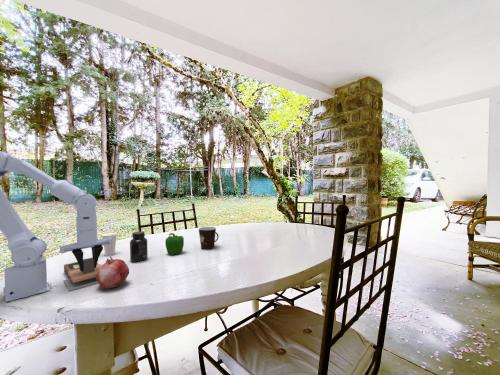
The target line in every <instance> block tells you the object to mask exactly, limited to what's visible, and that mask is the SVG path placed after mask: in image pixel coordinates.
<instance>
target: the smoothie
mask: <svg viewBox="0 0 500 375" xmlns="http://www.w3.org/2000/svg"><path fill="white" fill-rule="evenodd" d="M117 236H118V233H117V232H112V225H111V224H109V232H107V233H103V234H101V239H107V238H111V239H112V244H107V245H103V251H104V256H106V257H108V256H109V257H110V256H111V257H112V256H114V255H115V252H116V247H117V246H116V244H117Z"/></svg>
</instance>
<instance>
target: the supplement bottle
mask: <svg viewBox="0 0 500 375" xmlns="http://www.w3.org/2000/svg"><path fill="white" fill-rule="evenodd" d="M145 233H146V232H145V231H135V232H132V234H131V236H132V237H131V240H130V241H129V258H130V259H129V260H130V262H131V263H135V264H136V263H143V262H145V261H147V260H148V256H149V255H148V252H149V251H148V239H147V238H146V234H145Z"/></svg>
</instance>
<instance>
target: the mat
mask: <svg viewBox="0 0 500 375" xmlns="http://www.w3.org/2000/svg"><path fill="white" fill-rule="evenodd" d="M63 284H64V285H65V287H66V288H67V290H68V291H69V292H72V291H76V290H79V289H83V288H87V287H91V286H94V285H97V284H98V285H99V283H98V281H97V279H96V277H94V278H90V279H86V280H83V281H79V282H75V283H73V281H72V280H71V278H70V279H68V278H67V279H64V280H63Z"/></svg>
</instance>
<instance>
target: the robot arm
mask: <svg viewBox="0 0 500 375" xmlns="http://www.w3.org/2000/svg"><path fill="white" fill-rule="evenodd" d="M9 172H11V173H18V174H22V175H24V176H25V177H28V178H30V179H31V180H33V181H35V182H37V183H39V184H41V185H43V186H45V187H47V188H48V189H49V192H50V195H52V196H54V197H56V198H58V199H59V200H61V201H62V202H65V203H66V204H68V205H71V206H72V205H73V206H74V209H76V218H75V219H76V220H75V221H76V225H75V226H76V242H73V243H70V244H64V245H60V246H59V253H60V254H64V253H68V252H71V253H72V254H73V256H74V258H75V259H76V262H78V264H79V268H80V271H84V266H83V259H84V251H83V250H84V249H89V248H91V256H92V257H91V258H93V259H94V268H96V266H97V263H98V261H99V258H100V256H101V254H102V252H103V251H104V245H107V244H112V239H111V238H107V239H103V238H99V239H98V217H97V216H98V215H97V209H96V207H97V199H96V197H95V196H93V194H91V193H87V192H88V191H87V190H85V189H81V188H79V187H78V186H76V185H74V182H73V181H71V180H68V181H67V180H66V179H58V180H57V179H56V178H54V177H52V176H51V175H49V174H47V173H46V172H44V171H43V170H41V169H39V168H37V167H36V166H35V165H33V164H31V163H29V162H28V161H26V160H24V159H21V158H19V157H17V156H13V155H11V154H10V153H8V152H6V151H1V150H0V181H1V180H2V178H3V177H4V176H5V175H6V174H8V173H9ZM22 219H23V218H21V216H20V215H19V213H18V212H17V211H16V210H15V208H14V206H13V205H12V204H11V202H10V201H9V199H8V198H7V197H6V195H5V193H4V192H3V191H2V189H1V188H0V231H1V233H2V234H3V235H4V237H5V238H6V239H7V248H8V249H9V251H10V253H11V256H10V258H11V261H12V262H13V265H12V266H8V267H5V268H4V270H3V272H4V273H3V274H4V287H3V288H2V290H3V291H2V292H3V295H4V299H5V301H4V302H5V303H6V302H7V303H8V302H11V301H16V300H20V299H23V298H27V297H29V296H34V295H38V294H42V293H45V292H49V291H50V290H51V289H50V288H51V287H50V285H49V283H48V278H47V274H48V273H47V258H46V257H45V256H44V255H43V254H45V253H46V251H47V243H46V242H45V240H43V239H41V238H39V237H38V236H37V235H36V234H35V233H34V232H33V231H31V230H30V229H29V228H28V227H27V224H26V223H25V222H24V221H23V220H22Z"/></svg>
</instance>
